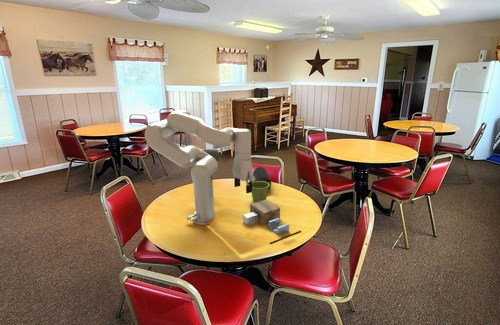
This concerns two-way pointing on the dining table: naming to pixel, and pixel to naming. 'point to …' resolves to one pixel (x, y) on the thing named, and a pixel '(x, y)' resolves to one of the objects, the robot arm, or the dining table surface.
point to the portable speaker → (261, 175)
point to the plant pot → (259, 191)
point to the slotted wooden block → (265, 211)
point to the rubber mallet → (213, 153)
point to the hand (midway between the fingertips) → (243, 189)
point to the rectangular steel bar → (251, 218)
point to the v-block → (279, 229)
